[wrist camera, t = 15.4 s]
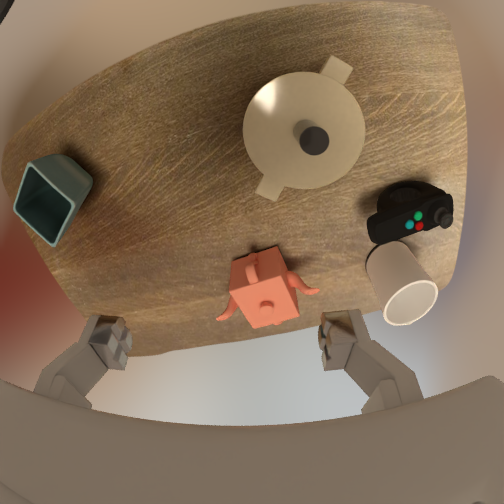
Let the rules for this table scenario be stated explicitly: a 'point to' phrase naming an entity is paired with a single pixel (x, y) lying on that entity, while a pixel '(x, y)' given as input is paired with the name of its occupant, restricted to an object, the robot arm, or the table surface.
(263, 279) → the teapot
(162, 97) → the table surface
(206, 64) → the table surface
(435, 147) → the table surface
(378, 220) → the controller
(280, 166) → the lid
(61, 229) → the flower pot
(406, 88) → the table surface
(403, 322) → the mug
